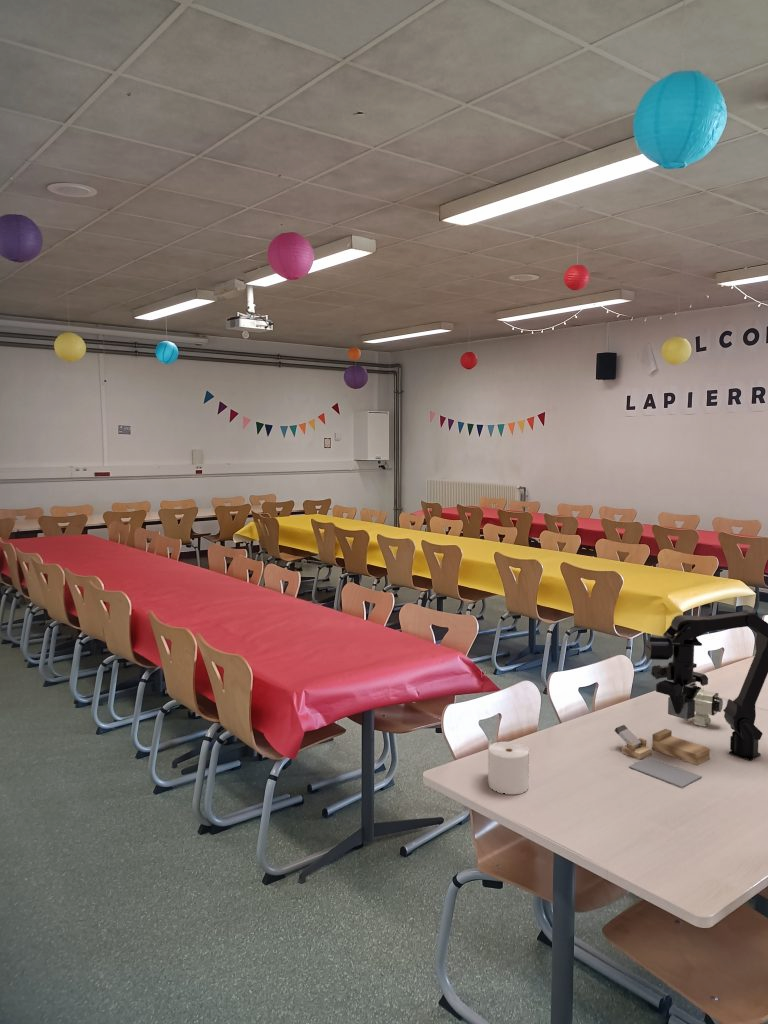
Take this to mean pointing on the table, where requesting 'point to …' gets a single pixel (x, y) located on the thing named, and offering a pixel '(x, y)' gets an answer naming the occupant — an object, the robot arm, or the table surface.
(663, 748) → the body
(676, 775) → the felt pad
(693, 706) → the grey knobbed drawer
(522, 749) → the toilet tissue
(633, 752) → the lever mount
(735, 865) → the table surface
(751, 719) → the robot arm
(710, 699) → the pneumatic valve
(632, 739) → the lever
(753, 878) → the table surface
